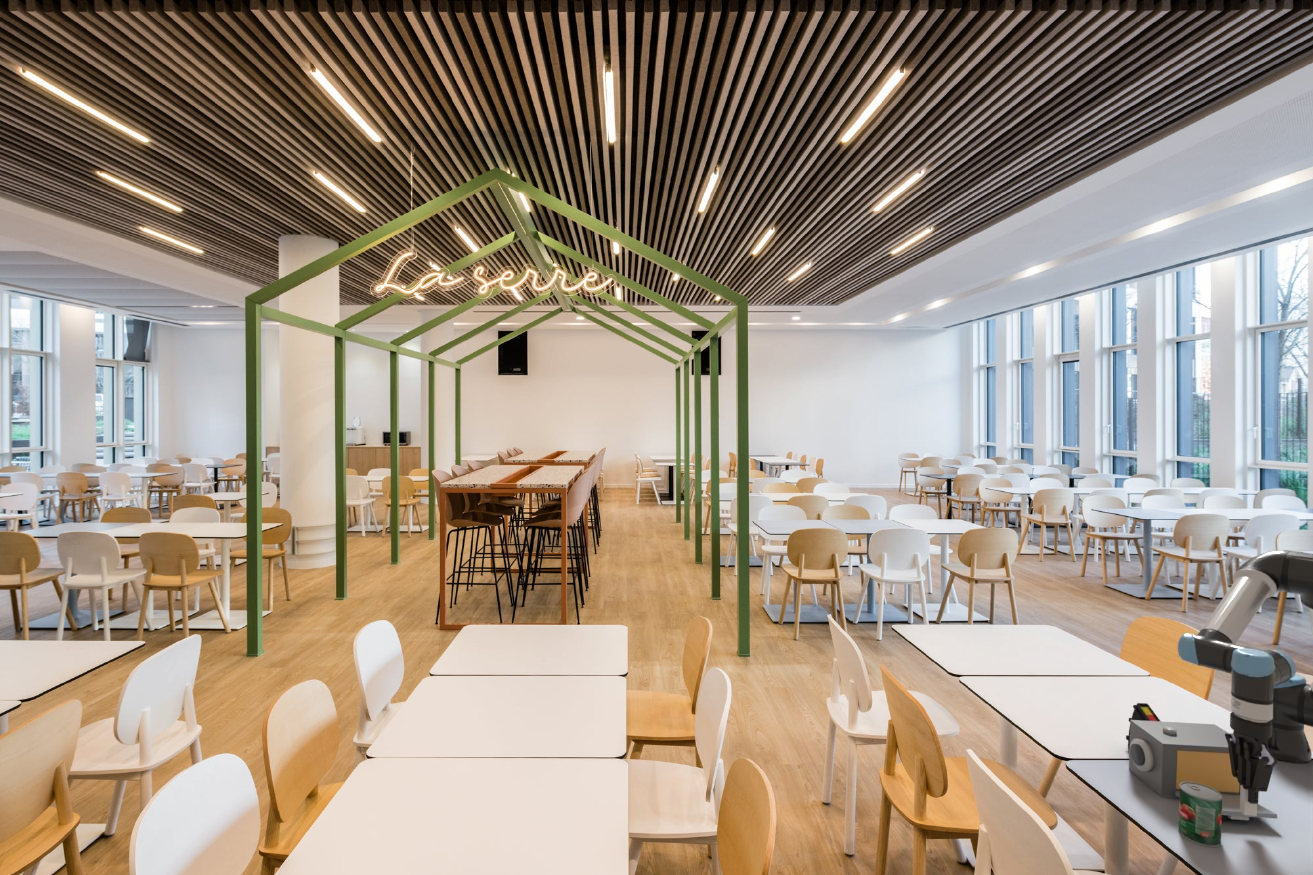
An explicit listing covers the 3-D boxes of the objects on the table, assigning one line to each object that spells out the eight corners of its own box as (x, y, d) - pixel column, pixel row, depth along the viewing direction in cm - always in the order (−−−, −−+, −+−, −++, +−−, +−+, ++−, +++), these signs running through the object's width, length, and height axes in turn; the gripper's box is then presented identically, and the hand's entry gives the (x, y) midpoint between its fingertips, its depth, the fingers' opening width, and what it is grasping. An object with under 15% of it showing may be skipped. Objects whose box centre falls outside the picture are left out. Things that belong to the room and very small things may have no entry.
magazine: (1132, 737, 203) (1147, 702, 197) (1158, 776, 192) (1176, 740, 185) (1119, 736, 204) (1134, 701, 197) (1145, 775, 192) (1162, 740, 185)
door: (1175, 790, 173) (1205, 809, 162) (1241, 795, 171) (1277, 814, 161) (1175, 799, 173) (1206, 818, 162) (1242, 803, 171) (1277, 822, 160)
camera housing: (1213, 773, 186) (1214, 720, 185) (1253, 803, 171) (1255, 745, 171) (1120, 768, 188) (1121, 715, 188) (1152, 796, 174) (1154, 739, 174)
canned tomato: (1230, 846, 154) (1232, 799, 153) (1198, 847, 153) (1200, 800, 153) (1199, 825, 161) (1201, 780, 161) (1169, 826, 161) (1170, 781, 161)
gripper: (1214, 703, 166) (1211, 797, 166) (1255, 727, 153) (1252, 829, 153) (1246, 705, 165) (1244, 799, 165) (1291, 729, 152) (1288, 831, 152)
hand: (1248, 813), depth 159 cm, fingers closed
